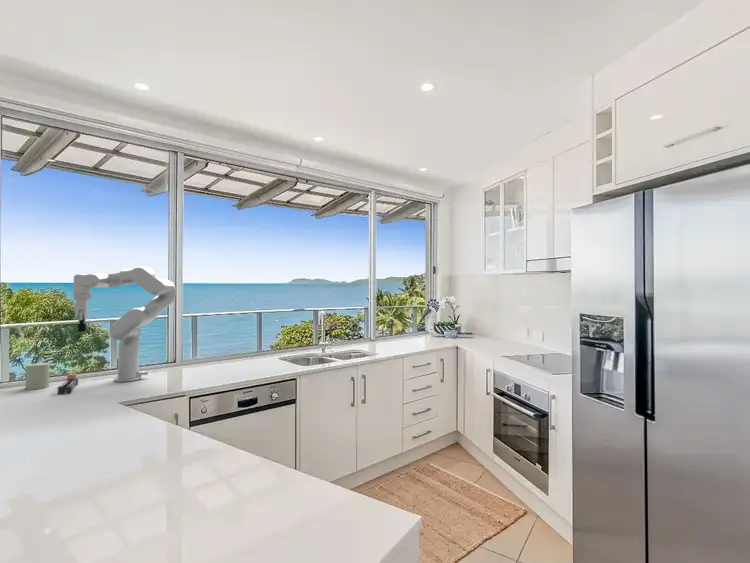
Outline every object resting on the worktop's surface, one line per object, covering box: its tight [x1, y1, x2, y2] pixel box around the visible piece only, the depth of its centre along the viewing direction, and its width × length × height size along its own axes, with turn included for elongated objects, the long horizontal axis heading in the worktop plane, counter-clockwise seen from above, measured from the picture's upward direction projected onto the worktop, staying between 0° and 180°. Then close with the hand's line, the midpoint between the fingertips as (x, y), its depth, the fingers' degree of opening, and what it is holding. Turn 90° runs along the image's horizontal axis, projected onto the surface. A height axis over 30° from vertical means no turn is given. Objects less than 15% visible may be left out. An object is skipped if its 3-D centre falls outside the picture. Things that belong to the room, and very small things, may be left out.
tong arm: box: [57, 380, 71, 395], centre depth 194 cm, size 18×2×3 cm, turn 27°
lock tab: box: [66, 373, 77, 379], centre depth 204 cm, size 2×3×2 cm
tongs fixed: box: [65, 376, 79, 394], centre depth 197 cm, size 23×5×3 cm, turn 30°
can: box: [24, 362, 51, 391], centre depth 200 cm, size 9×9×12 cm
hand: (81, 331), depth 218 cm, fingers closed
